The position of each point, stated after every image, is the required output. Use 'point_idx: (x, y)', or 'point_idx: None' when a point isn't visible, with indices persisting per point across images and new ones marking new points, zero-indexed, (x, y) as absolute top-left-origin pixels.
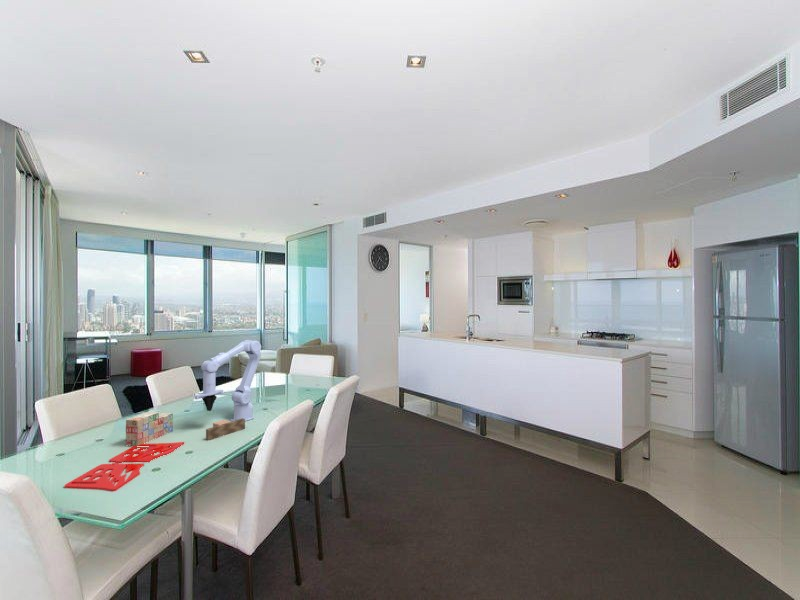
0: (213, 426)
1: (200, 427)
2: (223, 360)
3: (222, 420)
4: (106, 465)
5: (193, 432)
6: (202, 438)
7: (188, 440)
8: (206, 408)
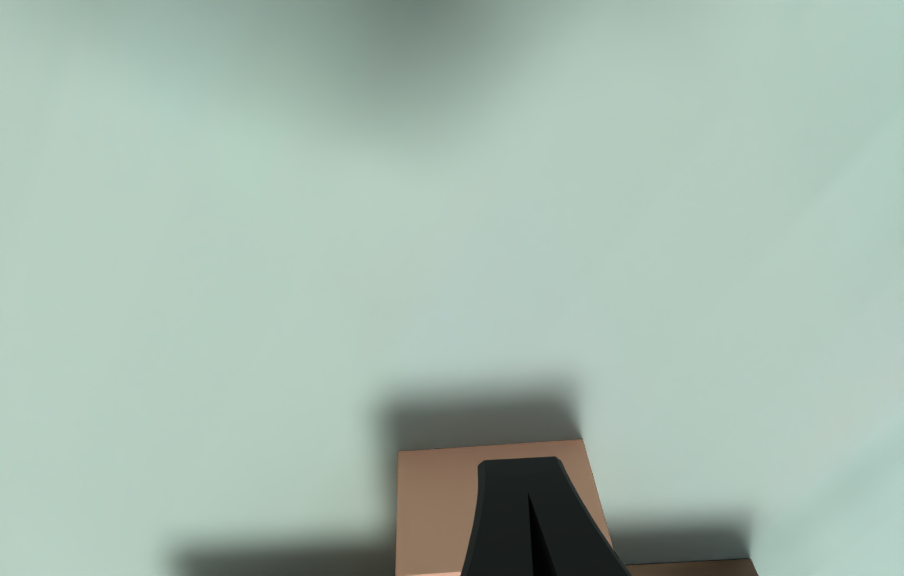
0: (397, 541)
1: (427, 41)
2: None
3: None
4: None
5: (197, 214)
6: (189, 528)
7: (12, 470)
8: (478, 496)
